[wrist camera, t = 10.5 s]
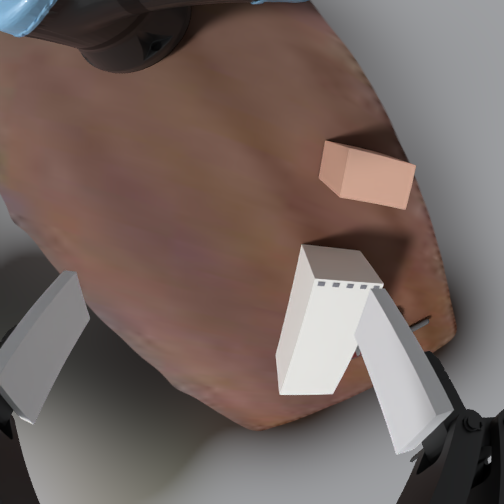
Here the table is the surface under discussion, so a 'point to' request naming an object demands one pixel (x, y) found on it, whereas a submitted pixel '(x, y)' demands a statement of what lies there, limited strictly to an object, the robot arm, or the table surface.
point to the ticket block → (322, 319)
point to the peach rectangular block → (366, 175)
